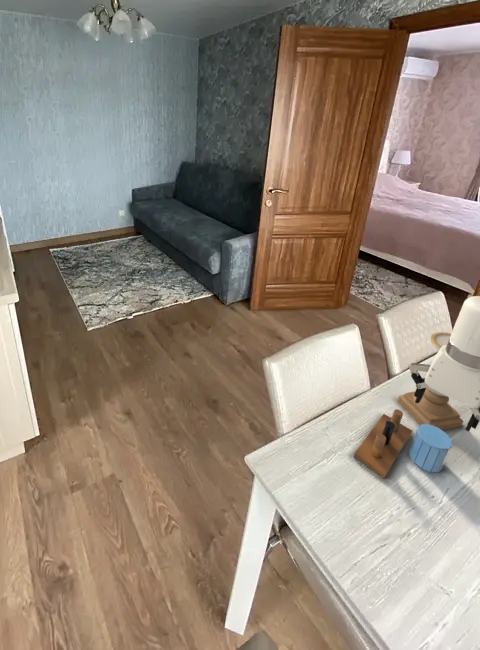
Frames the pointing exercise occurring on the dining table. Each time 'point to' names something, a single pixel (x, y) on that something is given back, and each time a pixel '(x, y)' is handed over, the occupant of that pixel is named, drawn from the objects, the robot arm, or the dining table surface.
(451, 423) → the candle holder
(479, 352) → the robot arm
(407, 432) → the rack
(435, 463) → the cup
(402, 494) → the dining table surface
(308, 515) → the dining table surface
